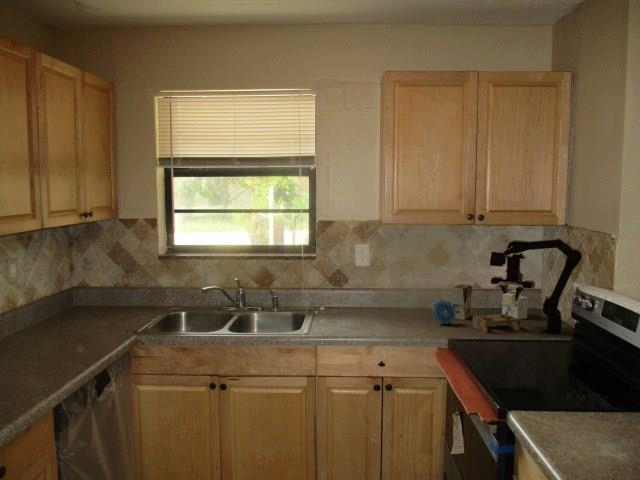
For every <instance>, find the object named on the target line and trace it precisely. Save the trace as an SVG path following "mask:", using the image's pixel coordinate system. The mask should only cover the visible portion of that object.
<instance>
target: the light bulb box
mask: <svg viewBox="0 0 640 480" xmlns="http://www.w3.org/2000/svg"><path fill="white" fill-rule="evenodd" d="M528 299H529V298H528V297H527V296H525V295H521V300H520V301H518V302H517V303H516V304H518V306H517V307H515V306H511V305H510V306H509V308H511V310H504V308H507V305H504V304H502V309H501V310H502V313H501V314H508V315H510V316H513V317H515V318H518V319H520V320H523V319H527V318H528V302H529V300H528Z"/></svg>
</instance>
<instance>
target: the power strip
mask: <svg viewBox="0 0 640 480" xmlns="http://www.w3.org/2000/svg"><path fill="white" fill-rule="evenodd" d="M521 296H522V292H521V293H520V295H519V298H518V300H517V301H516V299H515V297H516V289H511V290H510V291H509V290H508V292H507V293H505V294H504V293H503V294H502V301H501V302H502V305H503V304H504V305H507V308H504V310H511V308H509V306H510V305H511V306H515V307H517V306H518V304H516V303H517V302H518V301H520V300H521Z"/></svg>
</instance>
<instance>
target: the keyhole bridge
mask: <svg viewBox="0 0 640 480" xmlns="http://www.w3.org/2000/svg"><path fill="white" fill-rule="evenodd" d="M520 321H521V319H518V318H515V317H513V316H510V315H508V314H502V313H497V314H485V315H473V316H472V328H475V329H477V330H478V331H481V332H483V333H488V327H489V326H488V325H490V324H491V325H492V324H503V325H505V326H506V327H507V326H508V327H509V328H512V329H514V330H516V331H520V324H521V323H520Z"/></svg>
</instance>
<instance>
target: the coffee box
mask: <svg viewBox="0 0 640 480" xmlns="http://www.w3.org/2000/svg"><path fill="white" fill-rule="evenodd" d="M472 288H473V286H472V285H470V284H458V285H455V286H453V290H452V291H453V293H452V306H453V307H454V308H455V312H453V313H455V315H456V316H455V318H454V320H455V319H457V320H462V321H465V320H467V319H468V318H470V317H471V316H472V314H471V313H472V291H473V289H472Z"/></svg>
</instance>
